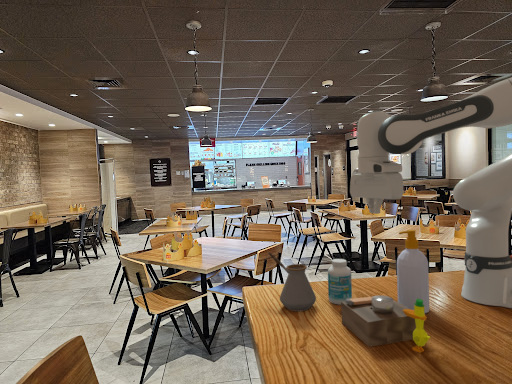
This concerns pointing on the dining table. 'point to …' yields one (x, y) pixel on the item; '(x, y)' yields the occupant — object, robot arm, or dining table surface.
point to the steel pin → (382, 305)
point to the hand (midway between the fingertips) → (374, 213)
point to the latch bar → (359, 301)
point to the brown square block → (378, 324)
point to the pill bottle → (339, 282)
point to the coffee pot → (296, 288)
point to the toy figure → (418, 325)
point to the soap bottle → (412, 274)
